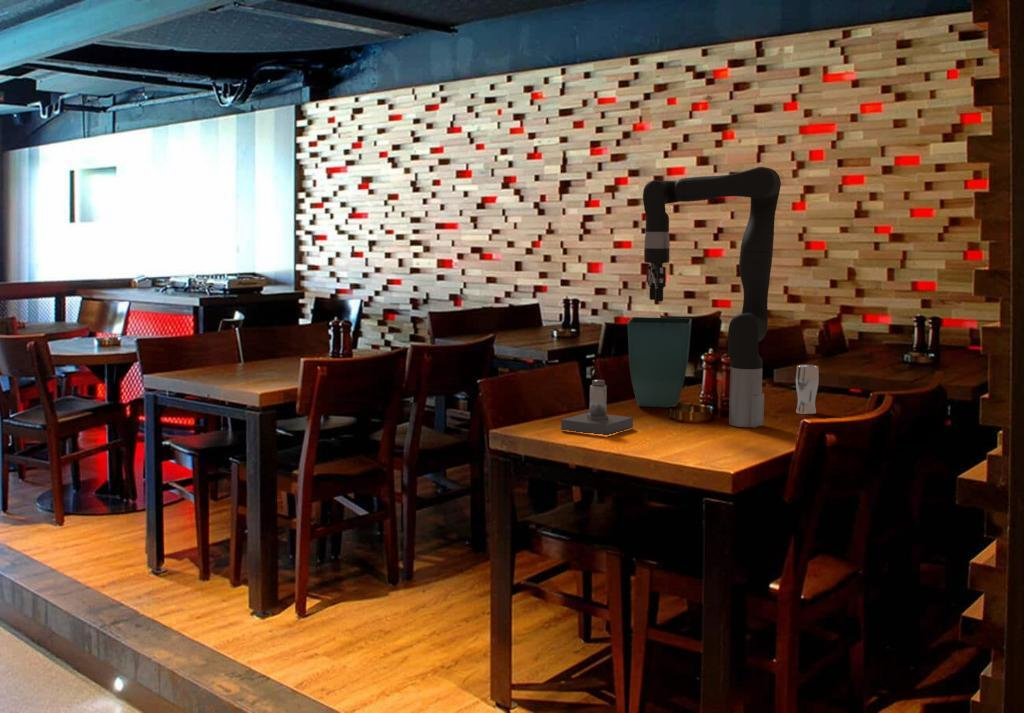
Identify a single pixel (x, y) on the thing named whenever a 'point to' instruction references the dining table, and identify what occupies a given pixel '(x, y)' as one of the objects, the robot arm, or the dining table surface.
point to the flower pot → (658, 359)
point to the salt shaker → (598, 400)
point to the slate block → (597, 424)
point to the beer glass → (806, 388)
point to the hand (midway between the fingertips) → (656, 300)
